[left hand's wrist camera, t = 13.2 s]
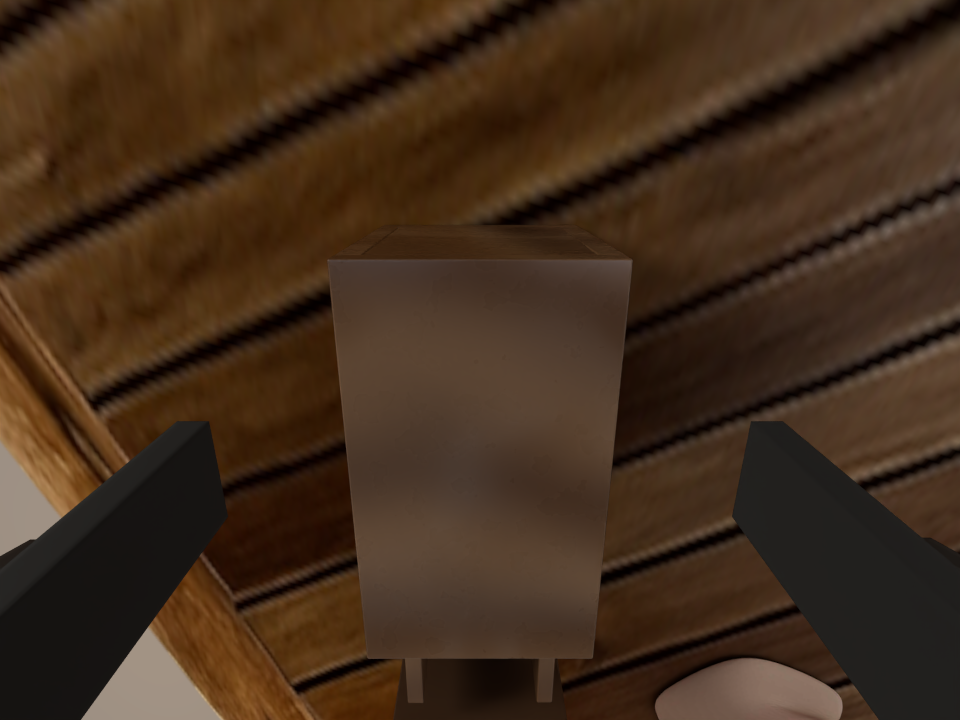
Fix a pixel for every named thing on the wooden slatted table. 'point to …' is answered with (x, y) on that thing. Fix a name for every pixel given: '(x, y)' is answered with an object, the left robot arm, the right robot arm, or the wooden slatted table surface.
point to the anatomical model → (749, 694)
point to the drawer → (480, 690)
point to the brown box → (480, 433)
